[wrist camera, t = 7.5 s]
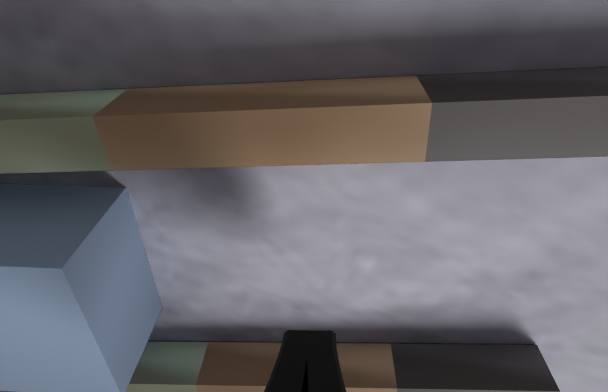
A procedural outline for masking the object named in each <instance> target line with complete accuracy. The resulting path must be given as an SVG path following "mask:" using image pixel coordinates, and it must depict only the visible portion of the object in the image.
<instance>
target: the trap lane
mask: <svg viewBox="0 0 608 392" xmlns="http://www.w3.org/2000/svg"><path fill="white" fill-rule="evenodd" d="M606 156H608V67H594V68H572V69H550V70H528V71H506V72H484V73H462V74H441V75H419V76H397V77H375V78H353V79H331V80H309V81H288V82H266V83H244V84H222V85H200V86H178V87H157V88H135V89H113V90H91V91H69V92H47V93H25V94H4V95H0V174H5V173H40V172H76V171H111V170H146V169H182V168H217V167H253V166H288V165H323V164H359V163H394V162H429V161H465V160H500V159H535V158H571V157H606ZM281 344H282V343H261V342H147V344H146V346H145V348H144V351H143V353H142V355H141V357H140V360H139V362H138V364H137V366H136V369H135V371H134V373H133V375H132V378H131V380H130V382H129V384H128V387H127V389H126V391H125V392H264V390H265V388H266V386H267V383H268V381H269V378H270V376H271V373H272V371H273V368H274V365H275V362H276V360H277V357H278V354H279V351H280V347H281ZM336 346H337V353H338V359H339V364H340V369H341V373H342V377H343V381H344V385H345V389H346V392H560V390H559V388H558V386H557V384H556V382H555V380H554V378H553V376H552V374H551V372H550V370H549V368H548V366H547V364H546V362H545V360H544V358H543V356H542V354H541V352H540V350H539V348H538V346H537V345H495V344H378V343H336ZM0 392H13V391H0Z"/></svg>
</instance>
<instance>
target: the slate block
mask: <svg viewBox="0 0 608 392" xmlns="http://www.w3.org/2000/svg"><path fill="white" fill-rule="evenodd" d="M161 310H162V305H161V301H160V298H159V295H158V292H157V288H156V285H155V282H154V278H153V275H152V272H151V268H150V265H149V262H148V258H147V255H146V252H145V248H144V245H143V242H142V238H141V235H140V232H139V229H138V225H137V222H136V219H135V215H134V212H133V209H132V205H131V202H130V199H129V195H128V192H127V189H126V187H98V186H65V185H32V184H0V391H13V392H125V391H126V389H127V387H128V384H129V382H130V380H131V378H132V375H133V373H134V371H135V369H136V366H137V364H138V362H139V360H140V357H141V355H142V353H143V351H144V348H145V346H146V344H147V342H148V339H149V337H150V335H151V333H152V330H153V328H154V326H155V324H156V321H157V319H158V317H159V315H160V312H161Z"/></svg>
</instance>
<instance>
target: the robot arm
mask: <svg viewBox="0 0 608 392" xmlns="http://www.w3.org/2000/svg"><path fill="white" fill-rule="evenodd" d="M264 392H346V389H345V385H344V381H343V377H342V373H341V369H340V364H339V359H338V353H337V346H336V333H334V332H333V331H308V330H288V331H287V332H285V333H284V337H283V341H282V344H281V347H280V351H279V354H278V357H277V360H276V362H275V365H274V368H273V371H272V373H271V376H270V378H269V381H268V383H267V386H266V388H265V390H264Z"/></svg>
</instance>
